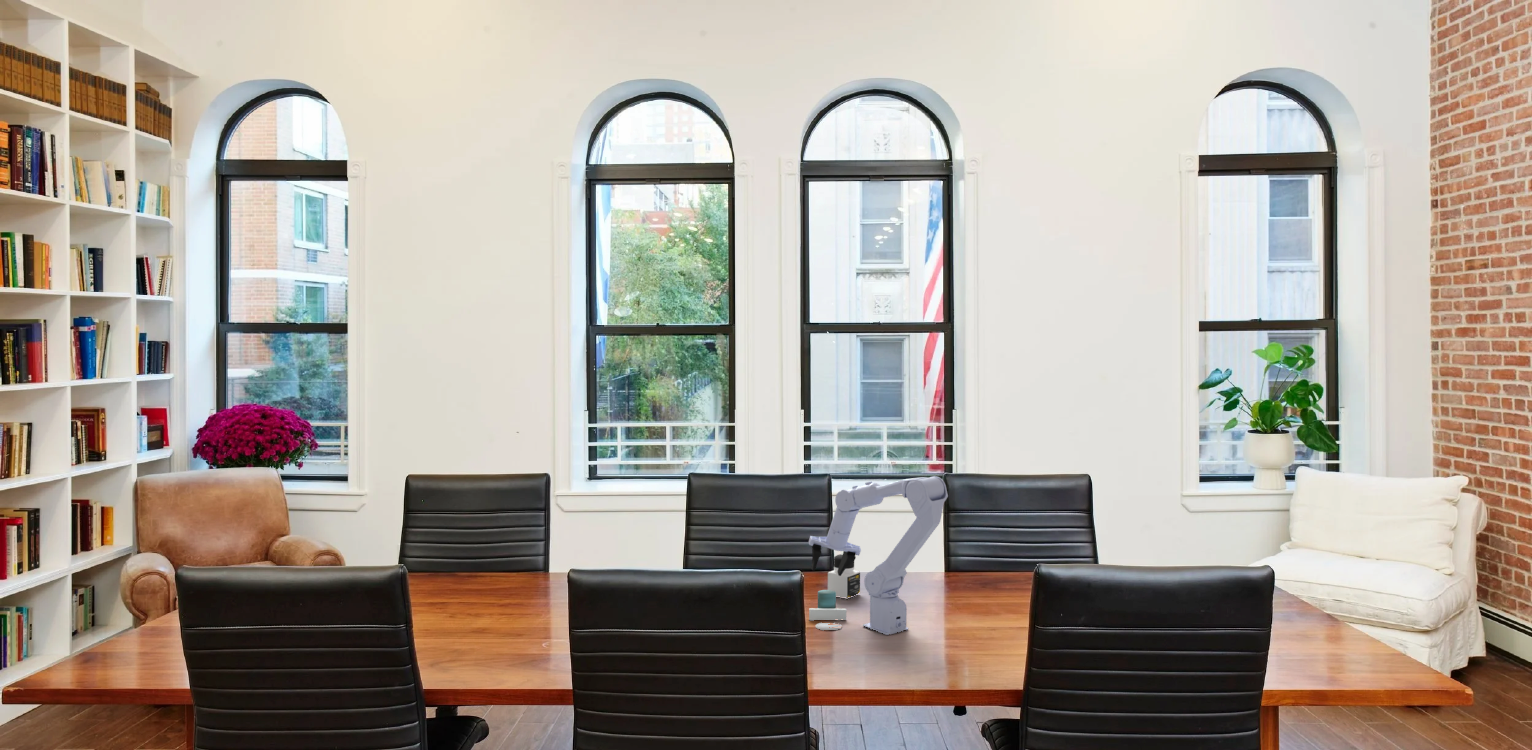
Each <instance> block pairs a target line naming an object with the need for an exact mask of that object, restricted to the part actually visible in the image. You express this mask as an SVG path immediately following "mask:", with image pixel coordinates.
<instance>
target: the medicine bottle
mask: <svg viewBox="0 0 1532 750" xmlns="http://www.w3.org/2000/svg"><path fill="white" fill-rule="evenodd" d="M842 556H843V553H841V554H836V555H835V556H833V570H831V571H828V572H827V590H832V591H835V592H836V596H840V597H846V598H848V597H851V596H854V595H856V594H858V593H859V592H860V593H861V572H860V571H859V570H855V560H854V561H853V562H852V563H851V564H850V565H849V566H848V567H847V568H846V569H845V570H844V572H843V573H842V575H841V576H839V575H838V572H837V571H838V568H839V565H840V563H841V560H842Z"/></svg>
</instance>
